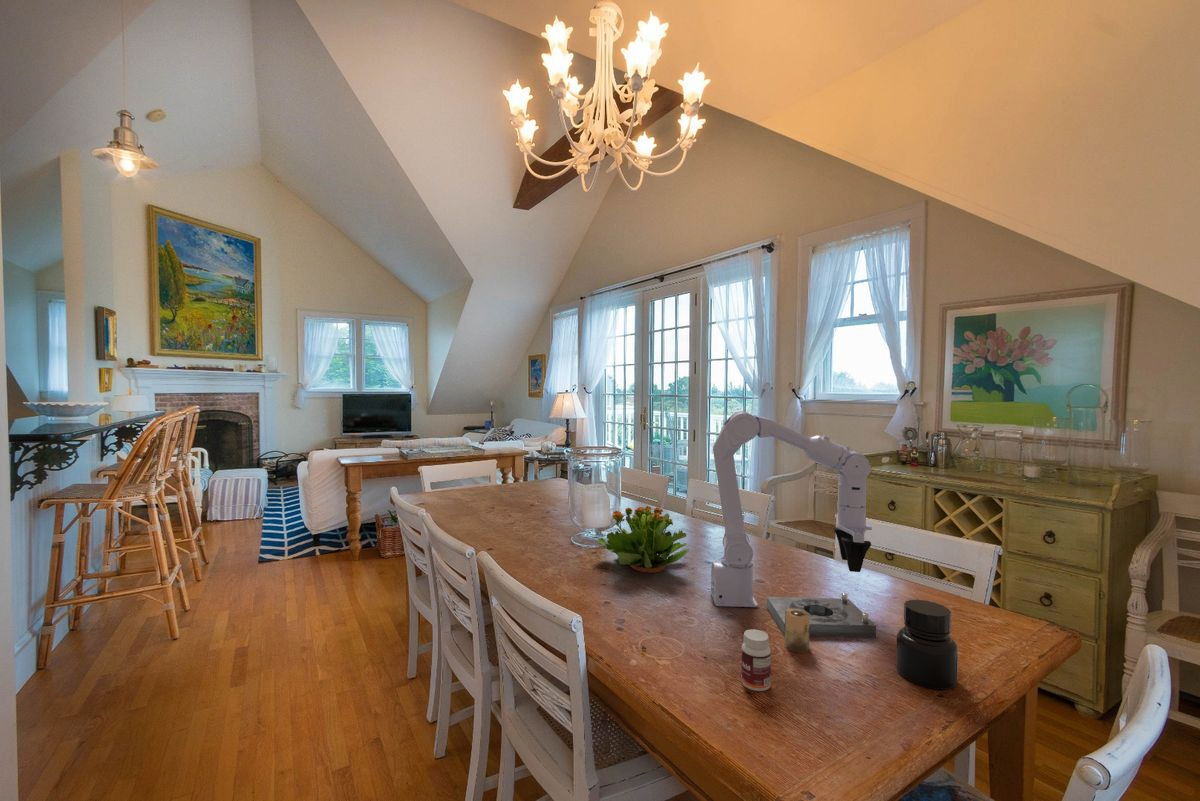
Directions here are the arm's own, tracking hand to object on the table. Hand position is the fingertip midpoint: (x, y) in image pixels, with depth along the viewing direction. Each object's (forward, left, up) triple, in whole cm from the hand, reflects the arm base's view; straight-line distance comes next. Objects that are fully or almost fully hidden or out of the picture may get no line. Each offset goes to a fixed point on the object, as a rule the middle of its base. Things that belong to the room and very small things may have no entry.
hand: (850, 565), depth 115 cm
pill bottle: (-28, -31, -10) cm, 43 cm away
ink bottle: (+2, -27, -10) cm, 28 cm away
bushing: (-17, -18, -10) cm, 27 cm away
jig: (-9, -7, -10) cm, 15 cm away
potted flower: (-43, +24, -10) cm, 51 cm away
